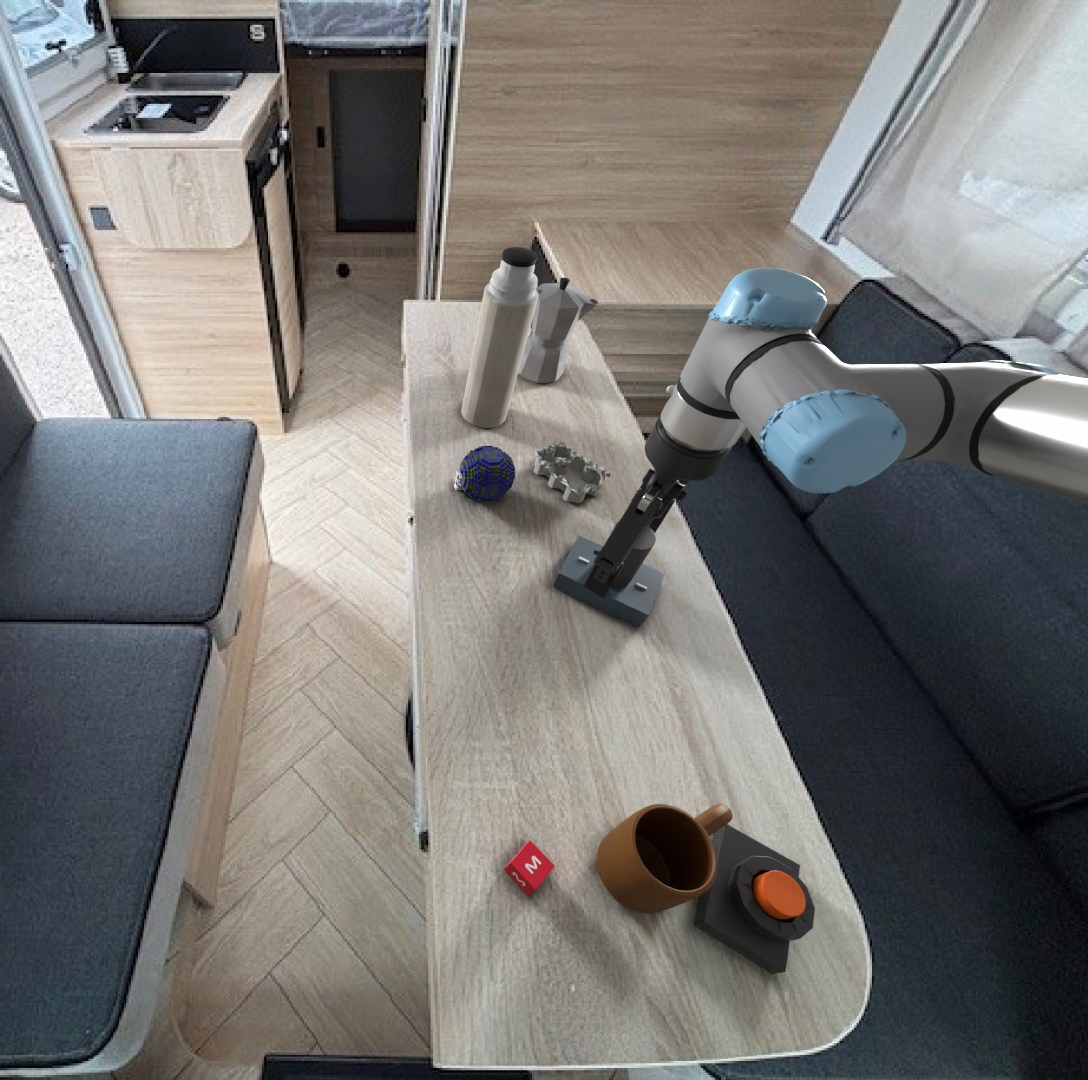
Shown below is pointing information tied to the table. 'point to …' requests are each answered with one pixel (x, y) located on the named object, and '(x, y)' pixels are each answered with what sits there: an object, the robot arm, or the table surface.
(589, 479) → the grey jagged hollow block
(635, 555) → the temp dial
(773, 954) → the push button switch
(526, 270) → the thermos bottle
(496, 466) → the ball
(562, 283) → the coffeepot
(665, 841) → the mug
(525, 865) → the dice
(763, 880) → the round orange button
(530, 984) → the table surface
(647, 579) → the dial panel
